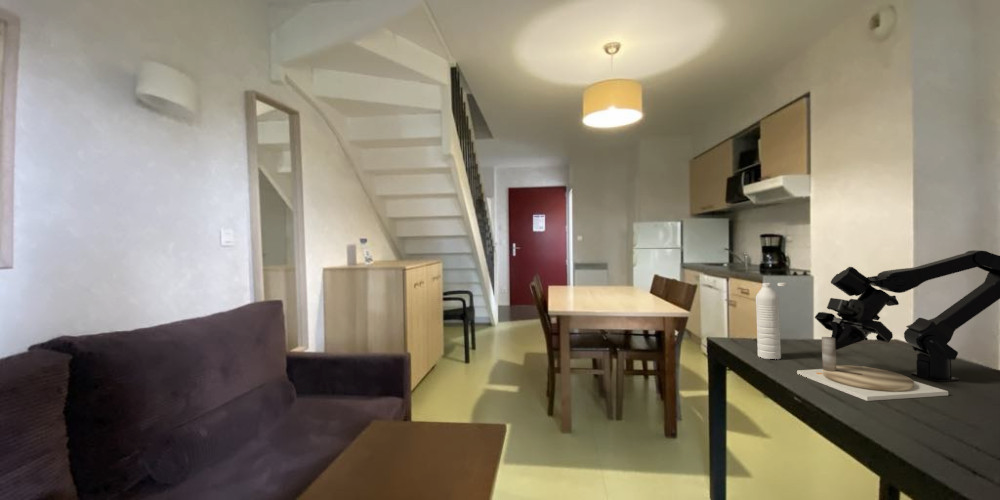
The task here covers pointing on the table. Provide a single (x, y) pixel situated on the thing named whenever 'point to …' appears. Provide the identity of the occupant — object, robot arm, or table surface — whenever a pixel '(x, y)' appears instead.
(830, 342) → the dial
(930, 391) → the base
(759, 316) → the water bottle
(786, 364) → the table surface
